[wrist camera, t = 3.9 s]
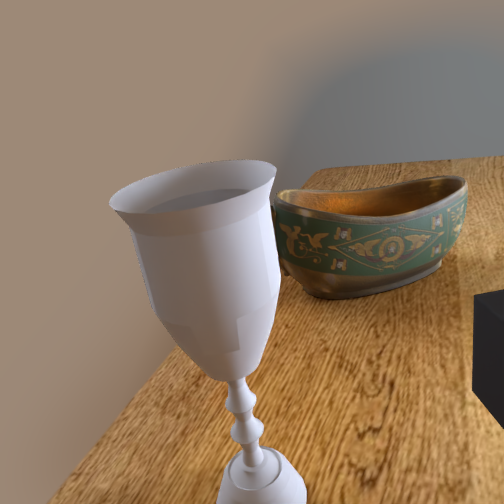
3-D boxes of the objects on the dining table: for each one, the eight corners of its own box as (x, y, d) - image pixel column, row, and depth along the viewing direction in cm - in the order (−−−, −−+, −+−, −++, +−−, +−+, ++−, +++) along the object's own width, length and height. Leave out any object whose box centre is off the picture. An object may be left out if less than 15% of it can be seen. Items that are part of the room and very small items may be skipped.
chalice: (335, 553, 22) (285, 193, 15) (195, 572, 23) (84, 226, 16) (312, 438, 29) (270, 151, 22) (205, 453, 29) (130, 175, 22)
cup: (283, 251, 57) (271, 170, 53) (463, 247, 50) (465, 154, 46) (250, 307, 45) (232, 209, 42) (477, 311, 39) (480, 194, 35)
